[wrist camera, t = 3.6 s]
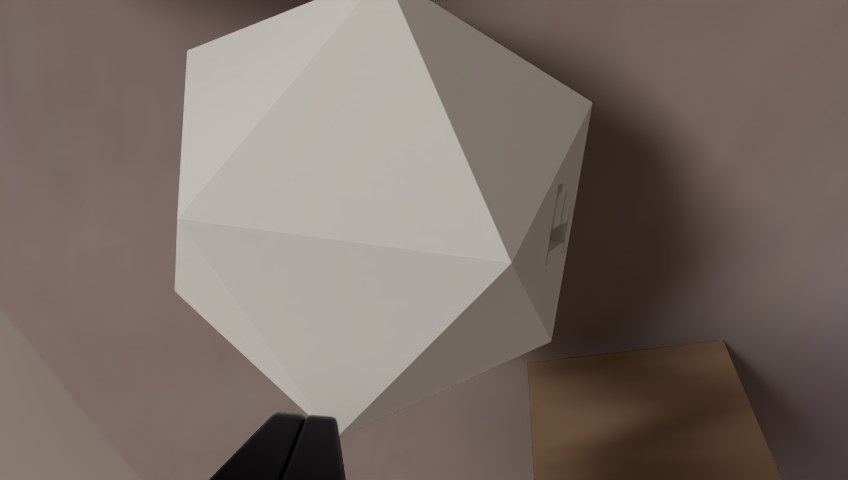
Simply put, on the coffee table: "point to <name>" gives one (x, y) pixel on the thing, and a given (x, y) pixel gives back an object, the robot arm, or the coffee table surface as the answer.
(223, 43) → the die
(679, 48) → the coffee table surface
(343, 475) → the robot arm
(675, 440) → the walnut block
